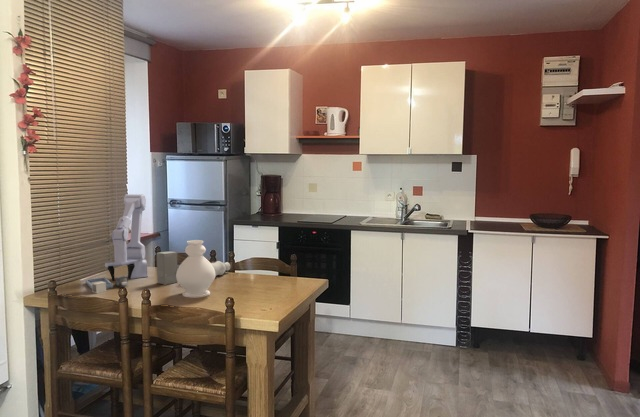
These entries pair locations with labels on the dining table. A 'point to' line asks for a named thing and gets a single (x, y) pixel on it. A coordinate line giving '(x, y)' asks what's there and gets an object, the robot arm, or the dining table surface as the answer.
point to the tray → (90, 281)
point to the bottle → (220, 267)
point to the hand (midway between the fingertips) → (121, 279)
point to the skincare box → (166, 267)
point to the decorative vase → (195, 271)
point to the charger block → (99, 287)
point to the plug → (121, 281)
